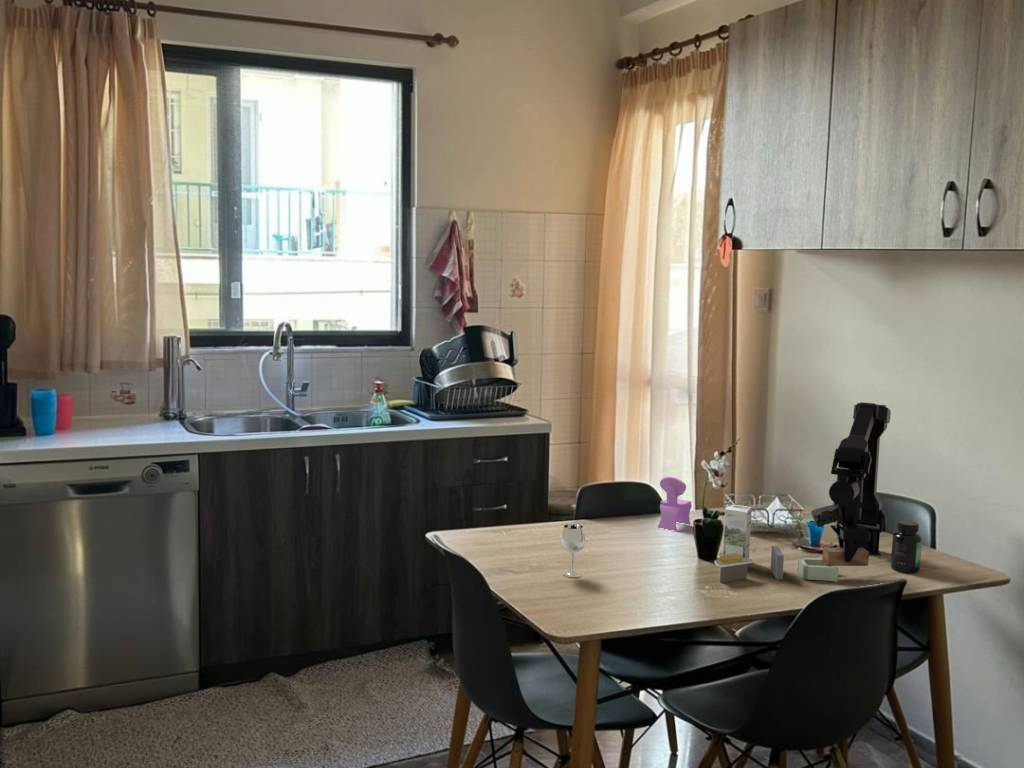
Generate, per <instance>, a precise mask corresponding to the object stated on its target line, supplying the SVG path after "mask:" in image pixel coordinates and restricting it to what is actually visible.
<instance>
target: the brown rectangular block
mask: <svg viewBox="0 0 1024 768" xmlns="http://www.w3.org/2000/svg"><path fill="white" fill-rule="evenodd" d="M869 557H870V554H869V552H868V551H867V550H866V549H864V548H858V550H857V551H856V553H855V555H854V557H853V558H852V560H851V562H845V555H844V548H840V547H823V549H822V558H821V559H822V562H823V563H825V564H826V565H827V566H831V567H869Z"/></svg>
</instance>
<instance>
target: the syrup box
mask: <svg viewBox="0 0 1024 768" xmlns="http://www.w3.org/2000/svg"><path fill="white" fill-rule="evenodd" d="M752 508H753V507H752V506H746V505H739V504H738V505H737V504H728V505H727V506H726V508H725V510H724V522H723V523H724V524H723V525H724V527H723V546H722V549H723V551H722V555H723V554H730V553H738V555H741V554H743V558H747V559H750V546H751V544H750V542H751V528H752V527H751V525H752V512H753V511H752V510H753V509H752ZM728 556H729V555H728ZM733 556H734V554H733ZM723 557H724V555H723ZM741 558H742V556H741Z"/></svg>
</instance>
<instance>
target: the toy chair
mask: <svg viewBox="0 0 1024 768" xmlns="http://www.w3.org/2000/svg"><path fill="white" fill-rule="evenodd" d="M659 486H660V488H661V489H662V490H663V491H664V492H665V493H666V499H664V500H661V501H660V504H659V509H660V520H659V523H658V524H657V527H658V528H657V527H656V528H657V529H660V528H664V529H663V530H665V529H668V530H667V531H670V530H674V531H673V532H675V531H677V532H678V529H677V524H676V522H679V523H685V524H689V525H691V521H690V511H691V509H692V500H685V499H680V498H678V497H679V496H681V495H683V494H684V493H685V491H686V489H687V484H686V483H685V482H684V481H682V480H681V479H679V478H677V477H675V476H674V477H673V476H664V477H663V478H661V479H660V481H659Z"/></svg>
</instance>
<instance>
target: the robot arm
mask: <svg viewBox="0 0 1024 768" xmlns="http://www.w3.org/2000/svg"><path fill="white" fill-rule="evenodd" d="M891 414H892V413H891V409H890V408H889V407H887V405H886V404H876V403H874V402H865V401H864V402H862V401H861V402H857V403H856V404H854V407H853V414H852V419H854V420H853V421H852V425H851V427H850V430H849V433H848V436H847V437H845V438H844V439H841V441H840V442H839V445H838V448H835V451H834V455H833V461H832V465H831V471H830V475H834V476H835V475H836V481H835V482H833V483H832V484H831V486H830V487H829V489H828V490H829V491H828V496H829V499H831V502H833V503H832V504H829V505H826V506H821V507H819V508H815V509H813V510H811V516H812V519H813V522H814V524H815V525H816V527H817V528H821V527H824V526H826V525H829V524H830V526H829V527H830V528H831V530H833V532H834V533H835V534H836V536H837V542H838V548H844V555H845V562H851V560H852V558H853V557H854V555H855V553H856V551H857V550H858V548H864V549H866V550H867V551H868V552H869V555H881V551H880V550H879V549H880V535H881V533H885V532H887V517H886V516H887V515H886V514H885V511H884V509H883V501H882V499H881V498H880V496H879V494H878V492H877V487H878V473H879V459H880V456H879V455H880V446H881V444H880V442H881V437H882V435H883V434H884V433H885V431H886V430H887V429H888V424H890V421H891ZM831 524H833V525H831Z"/></svg>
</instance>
